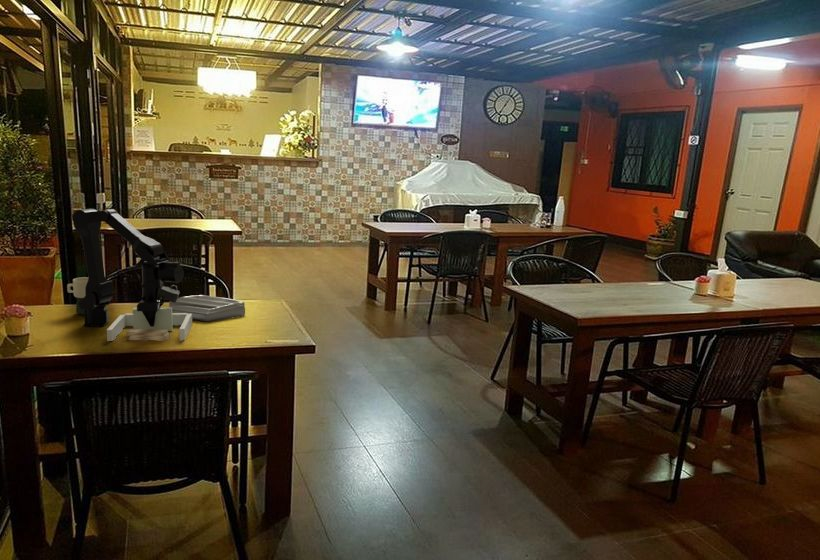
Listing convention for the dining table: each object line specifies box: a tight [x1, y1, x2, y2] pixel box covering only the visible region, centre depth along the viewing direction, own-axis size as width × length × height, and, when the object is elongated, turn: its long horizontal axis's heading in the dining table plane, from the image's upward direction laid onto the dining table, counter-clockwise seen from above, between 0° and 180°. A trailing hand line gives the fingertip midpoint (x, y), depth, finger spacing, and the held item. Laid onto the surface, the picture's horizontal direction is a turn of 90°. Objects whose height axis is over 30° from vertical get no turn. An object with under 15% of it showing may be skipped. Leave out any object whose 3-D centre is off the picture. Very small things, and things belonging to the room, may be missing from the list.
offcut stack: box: [125, 328, 170, 342], centre depth 190 cm, size 12×4×3 cm, turn 94°
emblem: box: [168, 294, 246, 322], centre depth 224 cm, size 28×5×28 cm
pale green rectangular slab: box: [132, 307, 174, 332], centre depth 197 cm, size 12×2×8 cm, turn 103°
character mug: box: [66, 276, 88, 315], centre depth 212 cm, size 11×7×13 cm, turn 107°
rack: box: [106, 313, 193, 342], centre depth 196 cm, size 23×20×4 cm
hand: (153, 325), depth 198 cm, fingers open, 3 cm apart
